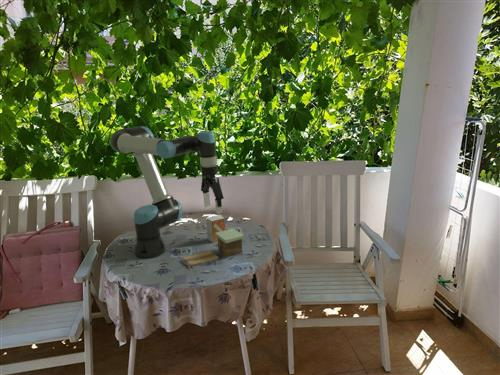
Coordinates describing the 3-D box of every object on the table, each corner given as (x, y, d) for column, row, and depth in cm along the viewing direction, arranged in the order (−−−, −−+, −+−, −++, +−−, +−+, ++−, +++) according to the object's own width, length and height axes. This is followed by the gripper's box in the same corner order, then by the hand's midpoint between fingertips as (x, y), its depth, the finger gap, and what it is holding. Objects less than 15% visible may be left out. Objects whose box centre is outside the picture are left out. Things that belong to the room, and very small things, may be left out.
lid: (215, 238, 192) (215, 233, 191) (233, 233, 197) (232, 228, 196) (226, 246, 183) (225, 240, 182) (244, 241, 188) (243, 235, 187)
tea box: (218, 253, 193) (217, 236, 191) (234, 248, 198) (233, 232, 195) (226, 259, 187) (225, 242, 184) (242, 254, 191) (241, 237, 189)
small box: (213, 244, 204) (211, 221, 200) (207, 240, 209) (205, 217, 205) (226, 240, 208) (225, 217, 204) (220, 236, 213) (219, 214, 210)
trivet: (183, 260, 187) (182, 257, 187) (209, 252, 194) (209, 249, 194) (191, 268, 179) (191, 265, 179) (218, 260, 186) (218, 257, 186)
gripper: (228, 168, 169) (232, 214, 174) (205, 160, 190) (209, 201, 195) (212, 171, 165) (217, 218, 171) (191, 162, 186) (196, 205, 192)
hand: (213, 209), depth 183 cm, fingers open, 13 cm apart
